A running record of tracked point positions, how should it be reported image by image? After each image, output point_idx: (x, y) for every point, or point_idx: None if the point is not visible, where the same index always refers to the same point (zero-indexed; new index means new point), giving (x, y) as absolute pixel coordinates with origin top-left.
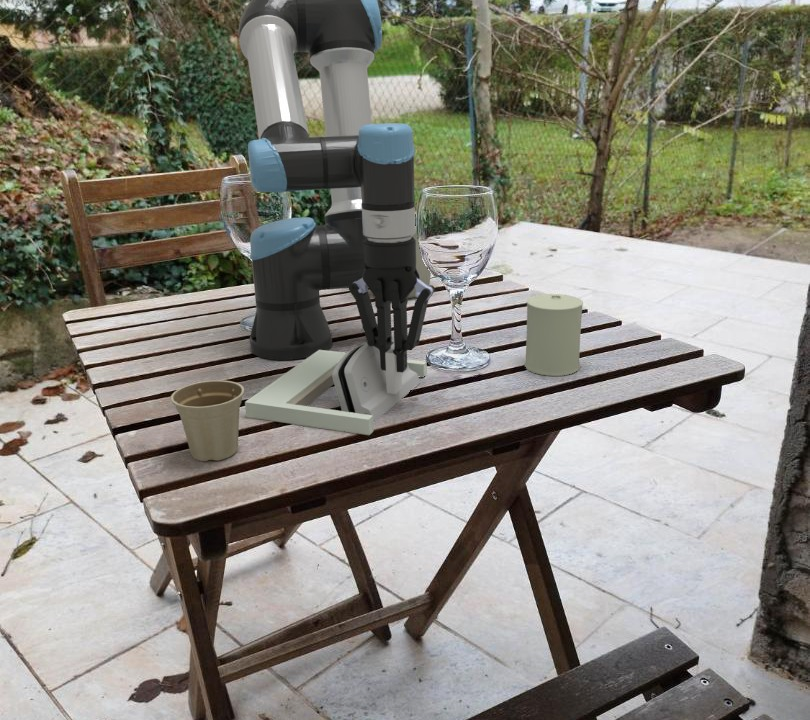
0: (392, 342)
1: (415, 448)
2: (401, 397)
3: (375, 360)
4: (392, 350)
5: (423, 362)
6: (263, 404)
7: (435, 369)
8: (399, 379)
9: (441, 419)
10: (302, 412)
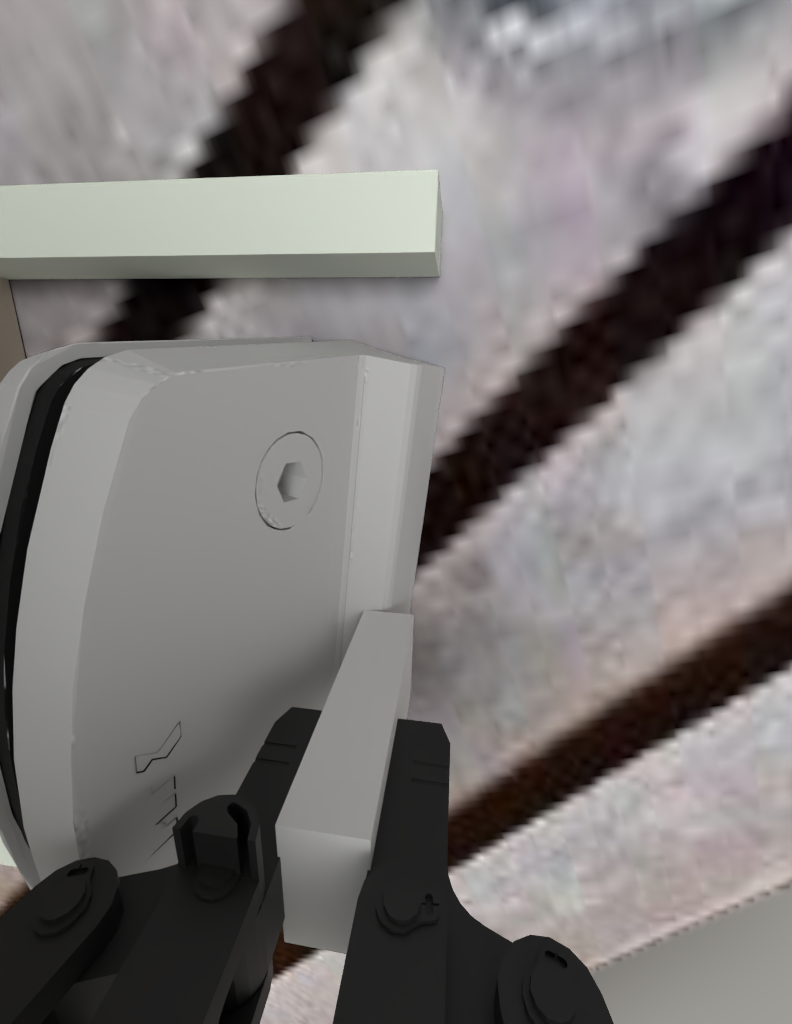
0: (256, 865)
1: (590, 928)
2: (412, 585)
3: (212, 761)
4: (319, 899)
5: (420, 205)
6: (4, 862)
7: (471, 72)
8: (405, 686)
9: (647, 740)
10: None
